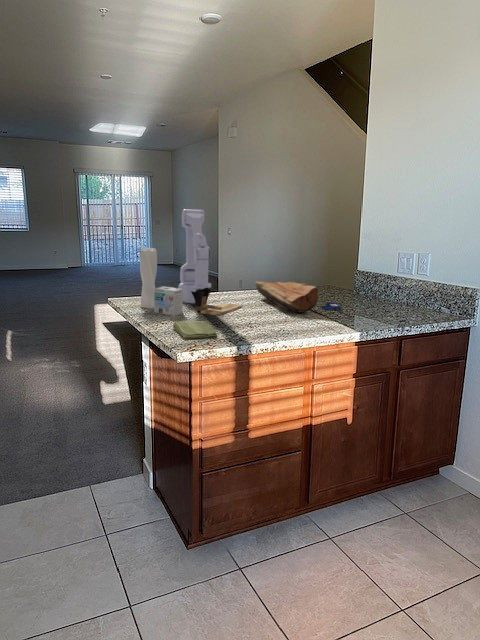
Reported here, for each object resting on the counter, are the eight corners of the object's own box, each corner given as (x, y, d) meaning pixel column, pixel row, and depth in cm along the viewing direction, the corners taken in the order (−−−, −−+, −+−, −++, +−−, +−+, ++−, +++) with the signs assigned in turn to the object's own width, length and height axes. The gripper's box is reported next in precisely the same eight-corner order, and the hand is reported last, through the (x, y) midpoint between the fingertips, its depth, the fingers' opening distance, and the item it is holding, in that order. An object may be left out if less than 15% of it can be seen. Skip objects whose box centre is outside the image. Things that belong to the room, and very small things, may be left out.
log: (318, 313, 208) (320, 280, 208) (281, 311, 204) (283, 276, 203) (284, 310, 249) (286, 282, 248) (252, 308, 244) (254, 279, 244)
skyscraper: (136, 307, 210) (135, 244, 204) (144, 304, 217) (144, 243, 211) (152, 309, 208) (152, 245, 202) (159, 306, 215) (159, 244, 209)
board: (200, 313, 203) (200, 310, 203) (224, 305, 224) (224, 302, 223) (218, 315, 200) (219, 313, 199) (241, 307, 220) (241, 305, 220)
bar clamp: (316, 301, 230) (335, 301, 232) (316, 306, 231) (335, 306, 233) (345, 318, 200) (366, 318, 202) (344, 324, 200) (366, 323, 203)
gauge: (195, 310, 206) (196, 294, 205) (200, 308, 210) (200, 293, 208) (218, 313, 202) (219, 298, 200) (222, 312, 205) (223, 296, 204)
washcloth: (183, 341, 160) (183, 332, 159) (171, 329, 176) (171, 320, 175) (219, 339, 164) (219, 330, 164) (204, 327, 180) (205, 319, 180)
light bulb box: (153, 312, 201) (153, 287, 198) (163, 310, 207) (163, 286, 204) (174, 316, 196) (174, 290, 194) (183, 313, 202) (183, 288, 200)
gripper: (201, 277, 196) (200, 309, 199) (217, 274, 209) (216, 304, 212) (186, 276, 199) (186, 307, 202) (203, 272, 212) (203, 302, 215)
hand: (201, 305), depth 207 cm, fingers closed on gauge, 4 cm apart
